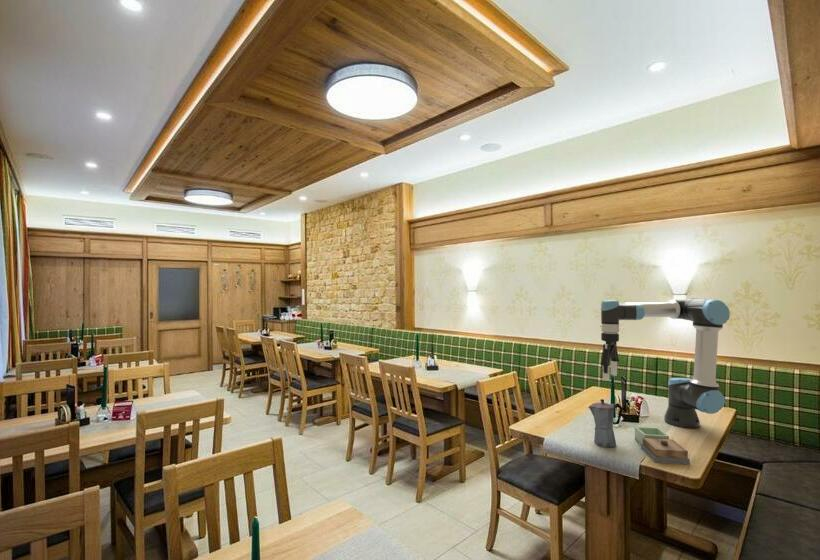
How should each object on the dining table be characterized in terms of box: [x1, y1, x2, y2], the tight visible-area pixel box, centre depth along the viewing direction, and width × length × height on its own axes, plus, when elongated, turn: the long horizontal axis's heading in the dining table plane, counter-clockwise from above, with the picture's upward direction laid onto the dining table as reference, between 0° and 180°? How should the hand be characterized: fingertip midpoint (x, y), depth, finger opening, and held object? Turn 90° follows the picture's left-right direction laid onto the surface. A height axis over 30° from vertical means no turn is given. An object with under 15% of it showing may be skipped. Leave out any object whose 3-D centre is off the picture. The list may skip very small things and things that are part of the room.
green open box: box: [634, 426, 670, 446], centre depth 179 cm, size 10×10×6 cm
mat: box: [640, 444, 691, 465], centre depth 167 cm, size 13×13×2 cm
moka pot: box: [587, 398, 624, 448], centre depth 180 cm, size 10×15×20 cm, turn 95°
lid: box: [643, 438, 689, 459], centre depth 167 cm, size 12×12×4 cm
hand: (610, 377), depth 190 cm, fingers open, 13 cm apart
